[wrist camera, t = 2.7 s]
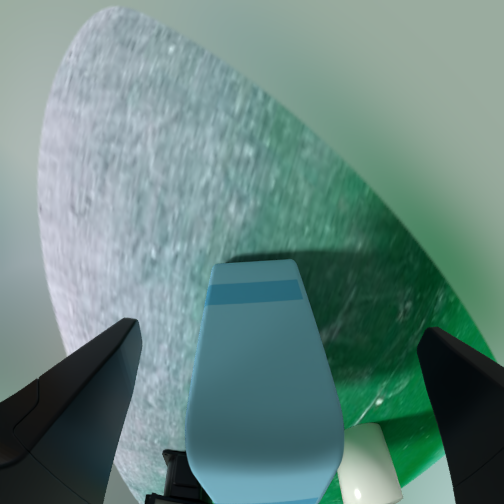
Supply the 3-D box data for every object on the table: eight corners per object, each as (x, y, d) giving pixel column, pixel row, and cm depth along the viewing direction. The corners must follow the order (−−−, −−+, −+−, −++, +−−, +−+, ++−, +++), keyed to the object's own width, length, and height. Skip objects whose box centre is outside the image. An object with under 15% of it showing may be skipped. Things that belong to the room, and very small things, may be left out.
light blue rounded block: (213, 253, 17) (176, 456, 6) (292, 248, 17) (353, 445, 6) (233, 387, 22) (231, 526, 11) (289, 384, 22) (308, 522, 11)
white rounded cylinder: (369, 444, 28) (387, 508, 19) (325, 450, 28) (338, 520, 19) (388, 419, 26) (413, 491, 17) (340, 426, 26) (359, 507, 16)
